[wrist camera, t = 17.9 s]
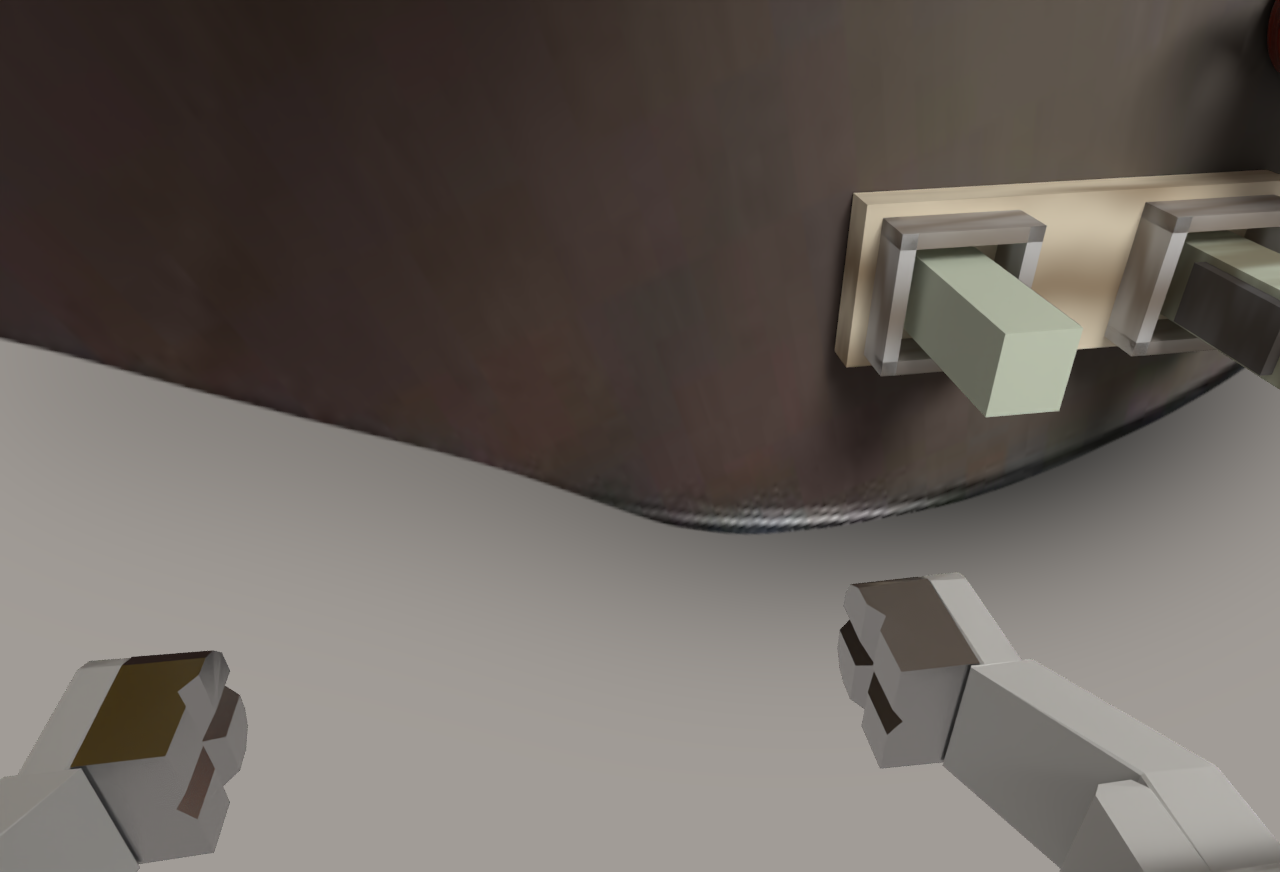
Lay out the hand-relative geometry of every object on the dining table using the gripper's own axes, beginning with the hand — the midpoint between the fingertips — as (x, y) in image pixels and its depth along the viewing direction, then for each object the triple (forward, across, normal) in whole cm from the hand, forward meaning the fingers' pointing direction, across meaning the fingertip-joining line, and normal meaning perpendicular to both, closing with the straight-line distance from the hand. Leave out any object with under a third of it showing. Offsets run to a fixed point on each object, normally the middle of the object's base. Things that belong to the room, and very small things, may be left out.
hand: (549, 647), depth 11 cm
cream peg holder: (+33, -28, +9) cm, 44 cm away
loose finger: (+31, -21, +9) cm, 38 cm away
